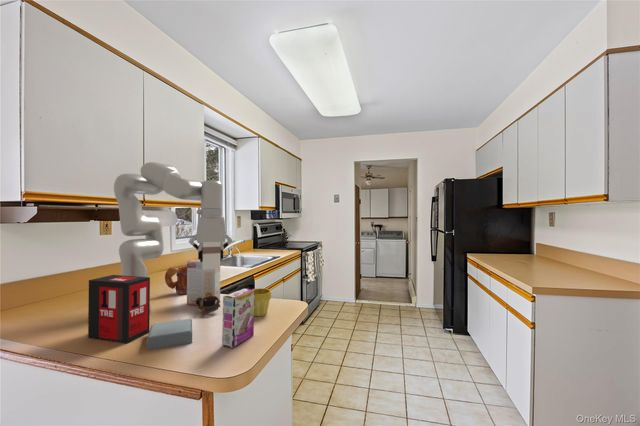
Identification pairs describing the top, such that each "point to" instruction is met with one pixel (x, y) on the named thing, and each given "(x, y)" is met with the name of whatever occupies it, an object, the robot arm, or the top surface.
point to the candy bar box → (238, 317)
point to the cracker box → (201, 282)
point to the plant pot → (261, 301)
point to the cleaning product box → (118, 308)
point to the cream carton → (211, 255)
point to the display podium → (169, 334)
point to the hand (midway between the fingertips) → (210, 260)
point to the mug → (181, 279)
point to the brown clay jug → (208, 304)
